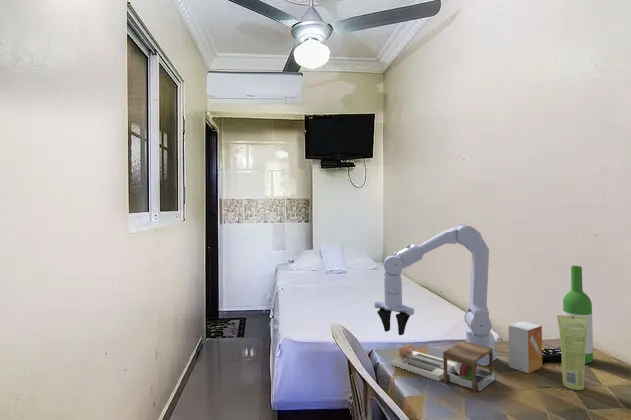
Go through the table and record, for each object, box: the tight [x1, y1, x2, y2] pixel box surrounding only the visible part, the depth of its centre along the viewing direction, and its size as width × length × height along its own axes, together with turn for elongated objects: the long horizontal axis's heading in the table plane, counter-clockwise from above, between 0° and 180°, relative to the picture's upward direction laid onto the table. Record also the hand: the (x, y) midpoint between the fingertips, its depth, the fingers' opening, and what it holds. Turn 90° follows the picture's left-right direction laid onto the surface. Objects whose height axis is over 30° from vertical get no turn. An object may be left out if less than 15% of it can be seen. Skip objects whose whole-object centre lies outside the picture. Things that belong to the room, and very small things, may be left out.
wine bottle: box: [562, 265, 594, 365], centre depth 126 cm, size 8×8×30 cm
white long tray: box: [399, 343, 496, 392], centre depth 120 cm, size 10×27×4 cm, turn 44°
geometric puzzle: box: [454, 362, 483, 381], centre depth 114 cm, size 7×7×8 cm
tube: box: [556, 314, 588, 391], centre depth 108 cm, size 6×5×20 cm
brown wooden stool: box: [442, 340, 494, 394], centre depth 114 cm, size 12×9×9 cm
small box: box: [508, 320, 543, 374], centre depth 122 cm, size 8×6×13 cm
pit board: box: [391, 350, 456, 382], centre depth 124 cm, size 12×16×2 cm
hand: (394, 332), depth 132 cm, fingers open, 5 cm apart
